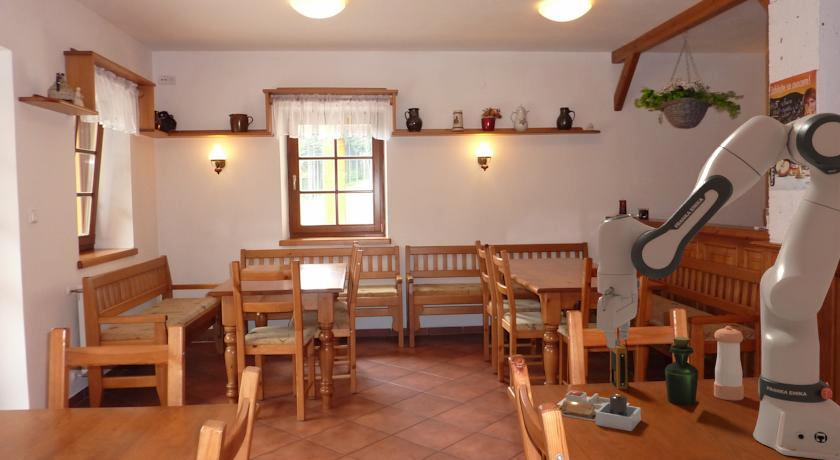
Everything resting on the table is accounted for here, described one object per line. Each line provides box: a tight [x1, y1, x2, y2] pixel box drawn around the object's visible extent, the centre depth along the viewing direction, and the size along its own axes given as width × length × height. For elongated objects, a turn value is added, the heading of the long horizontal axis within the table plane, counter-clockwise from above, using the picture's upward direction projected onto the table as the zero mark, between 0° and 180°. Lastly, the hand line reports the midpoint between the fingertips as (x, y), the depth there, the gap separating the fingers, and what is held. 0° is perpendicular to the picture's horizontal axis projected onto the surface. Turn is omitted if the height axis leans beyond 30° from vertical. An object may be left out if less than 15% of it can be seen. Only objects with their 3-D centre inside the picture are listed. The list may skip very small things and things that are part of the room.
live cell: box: [561, 400, 596, 419], centre depth 157 cm, size 8×4×4 cm, turn 56°
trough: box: [558, 405, 596, 423], centre depth 157 cm, size 11×6×2 cm, turn 56°
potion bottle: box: [664, 336, 699, 407], centre depth 164 cm, size 8×8×18 cm
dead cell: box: [609, 393, 628, 416], centre depth 151 cm, size 4×4×8 cm
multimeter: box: [607, 327, 630, 393], centre depth 179 cm, size 15×10×20 cm
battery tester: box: [556, 390, 631, 411], centre depth 164 cm, size 16×10×4 cm, turn 56°
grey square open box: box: [595, 402, 642, 432], centre depth 151 cm, size 8×8×4 cm
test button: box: [570, 389, 583, 396], centre depth 167 cm, size 3×3×2 cm
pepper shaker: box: [713, 325, 745, 401], centre depth 172 cm, size 7×7×19 cm
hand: (618, 343), depth 150 cm, fingers open, 8 cm apart
